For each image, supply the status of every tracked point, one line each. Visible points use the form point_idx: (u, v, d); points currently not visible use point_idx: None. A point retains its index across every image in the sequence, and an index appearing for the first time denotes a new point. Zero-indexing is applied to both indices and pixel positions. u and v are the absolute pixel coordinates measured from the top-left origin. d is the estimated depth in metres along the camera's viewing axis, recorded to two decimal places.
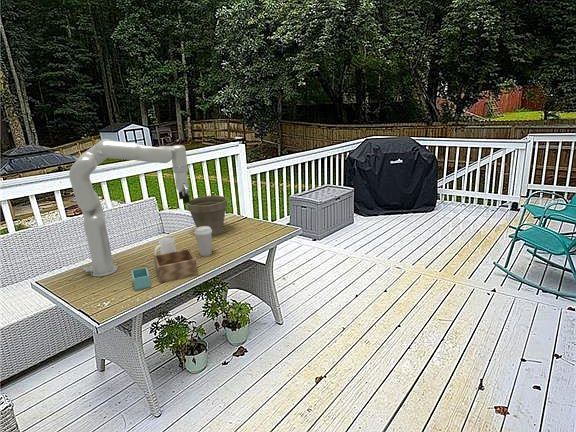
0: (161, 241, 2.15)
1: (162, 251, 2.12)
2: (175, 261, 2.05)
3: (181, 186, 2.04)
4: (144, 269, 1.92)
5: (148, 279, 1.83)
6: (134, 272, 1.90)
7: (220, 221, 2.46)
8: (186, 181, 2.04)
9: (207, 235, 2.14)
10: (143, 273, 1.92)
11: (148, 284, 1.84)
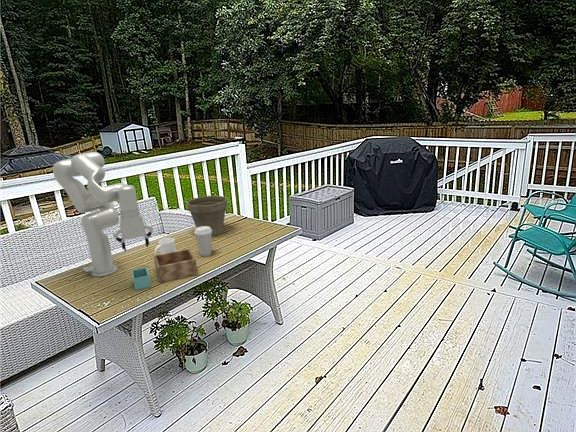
0: (161, 241, 2.15)
1: (162, 251, 2.12)
2: (175, 261, 2.05)
3: (145, 228, 1.80)
4: (144, 269, 1.92)
5: (148, 279, 1.83)
6: (134, 272, 1.90)
7: (220, 221, 2.46)
8: None
9: (207, 235, 2.14)
10: (143, 273, 1.92)
11: (148, 284, 1.84)
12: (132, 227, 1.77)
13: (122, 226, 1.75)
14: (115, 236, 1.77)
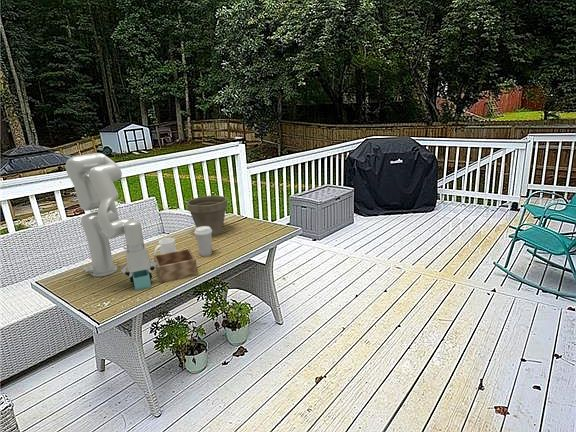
0: (161, 241, 2.15)
1: (162, 251, 2.12)
2: (175, 261, 2.05)
3: (150, 261, 1.85)
4: None
5: (148, 279, 1.83)
6: (134, 272, 1.90)
7: (220, 221, 2.46)
8: None
9: (207, 235, 2.14)
10: (143, 273, 1.92)
11: (148, 284, 1.84)
12: (138, 261, 1.81)
13: (128, 260, 1.80)
14: (123, 271, 1.82)
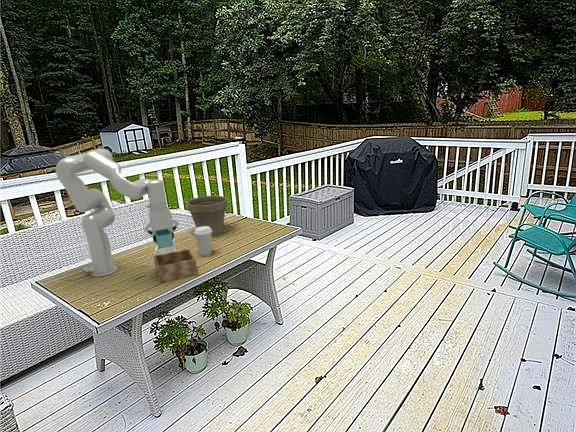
0: None
1: (162, 251, 2.12)
2: (175, 261, 2.05)
3: (172, 221, 1.88)
4: (166, 229, 1.95)
5: (171, 237, 1.86)
6: (157, 232, 1.93)
7: (220, 221, 2.46)
8: None
9: (207, 235, 2.14)
10: (165, 233, 1.95)
11: (171, 242, 1.87)
12: (160, 219, 1.85)
13: (151, 218, 1.83)
14: (146, 229, 1.85)
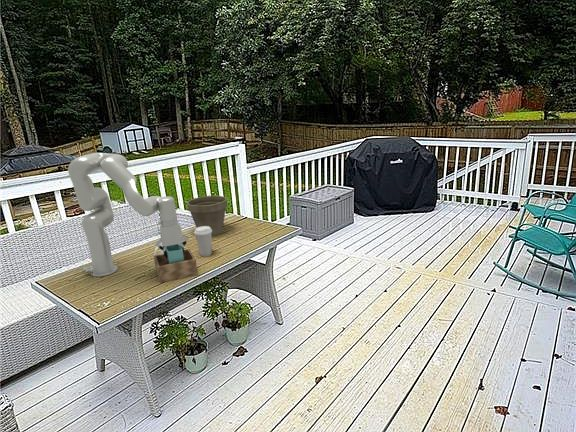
0: None
1: (162, 251, 2.12)
2: None
3: (182, 236, 1.94)
4: None
5: (181, 252, 1.92)
6: (167, 247, 1.99)
7: (220, 221, 2.46)
8: None
9: (207, 235, 2.14)
10: (175, 248, 2.00)
11: (181, 257, 1.92)
12: (171, 235, 1.90)
13: (162, 234, 1.89)
14: (157, 245, 1.91)
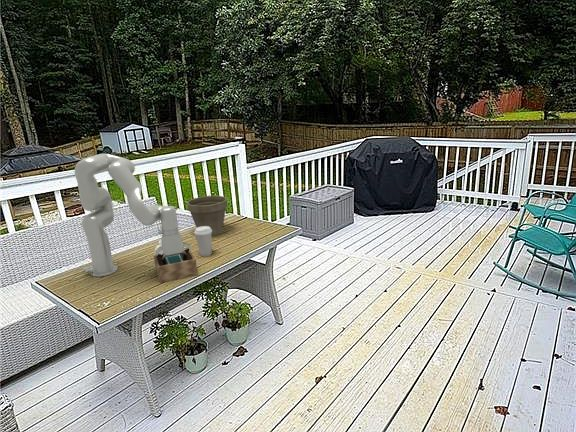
0: (161, 241, 2.15)
1: (162, 251, 2.12)
2: None
3: (183, 245, 1.95)
4: (177, 256, 2.02)
5: None
6: (168, 259, 2.00)
7: (220, 221, 2.46)
8: None
9: (207, 235, 2.14)
10: (176, 260, 2.02)
11: None
12: (172, 244, 1.92)
13: (164, 244, 1.90)
14: (157, 253, 1.92)
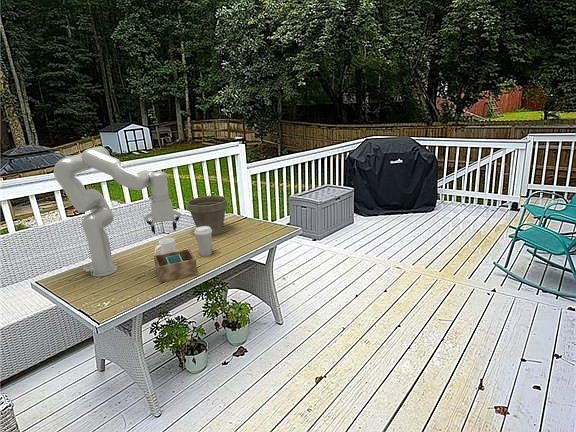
0: (161, 241, 2.15)
1: (162, 251, 2.12)
2: None
3: (173, 213, 1.91)
4: (177, 256, 2.02)
5: None
6: (168, 259, 2.00)
7: (220, 221, 2.46)
8: None
9: (207, 235, 2.14)
10: (176, 260, 2.02)
11: None
12: (162, 211, 1.87)
13: (153, 210, 1.86)
14: (146, 219, 1.87)
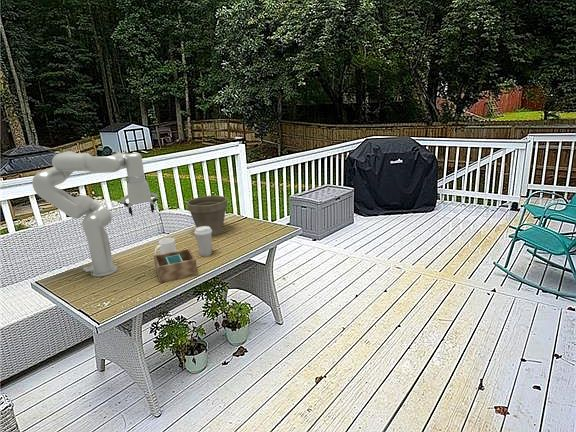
0: (161, 241, 2.15)
1: (162, 251, 2.12)
2: None
3: (150, 194, 1.92)
4: (177, 256, 2.02)
5: None
6: (168, 259, 2.00)
7: (220, 221, 2.46)
8: None
9: (207, 235, 2.14)
10: (176, 260, 2.02)
11: None
12: (138, 192, 1.88)
13: (129, 191, 1.87)
14: (122, 201, 1.88)
